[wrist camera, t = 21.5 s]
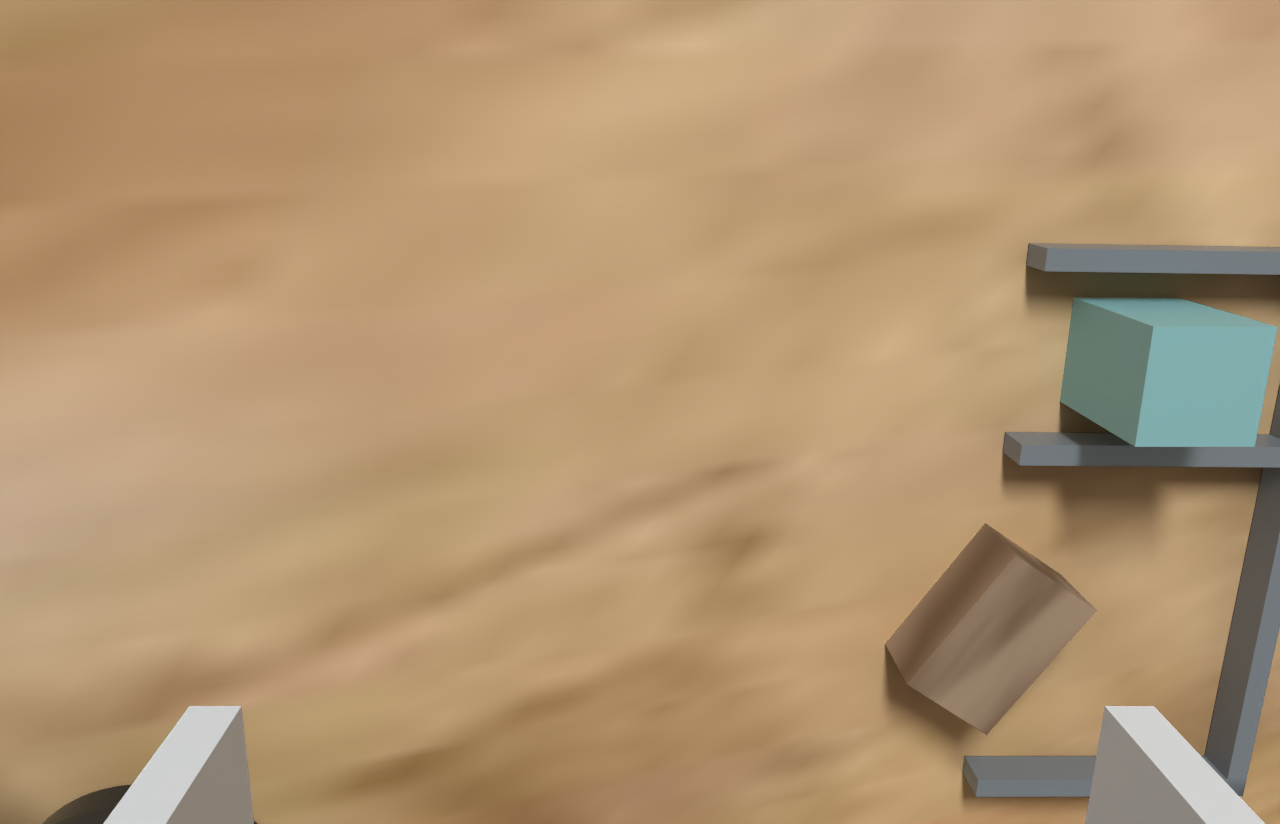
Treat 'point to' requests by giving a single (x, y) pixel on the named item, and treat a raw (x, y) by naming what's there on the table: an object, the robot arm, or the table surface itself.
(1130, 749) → the robot arm
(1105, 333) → the teal block
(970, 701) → the walnut block
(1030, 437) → the slot rack
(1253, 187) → the table surface
